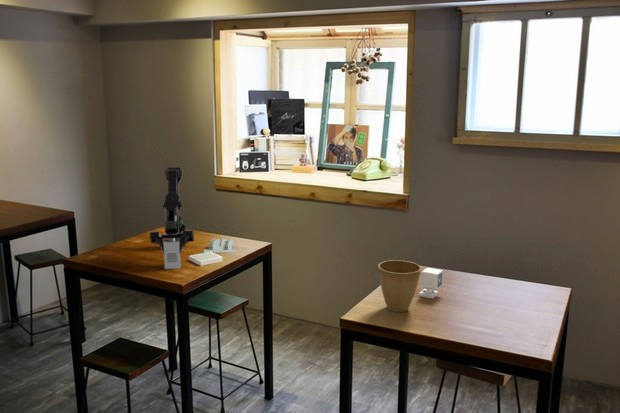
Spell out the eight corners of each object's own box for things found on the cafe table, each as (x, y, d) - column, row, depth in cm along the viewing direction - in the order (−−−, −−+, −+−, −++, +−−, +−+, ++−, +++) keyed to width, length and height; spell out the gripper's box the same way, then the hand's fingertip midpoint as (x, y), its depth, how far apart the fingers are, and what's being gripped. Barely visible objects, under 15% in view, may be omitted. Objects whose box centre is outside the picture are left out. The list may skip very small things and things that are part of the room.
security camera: (436, 299, 229) (437, 274, 227) (418, 296, 233) (419, 271, 231) (442, 294, 234) (443, 269, 232) (424, 291, 238) (425, 266, 236)
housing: (165, 265, 269) (164, 237, 267) (180, 265, 270) (179, 236, 268) (164, 269, 264) (163, 240, 262) (180, 268, 265) (178, 239, 263)
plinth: (189, 260, 278) (189, 255, 278) (210, 255, 285) (210, 251, 284) (201, 265, 270) (200, 261, 269) (222, 261, 276) (222, 256, 276)
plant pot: (370, 311, 217) (371, 268, 214) (387, 298, 230) (389, 257, 226) (409, 320, 210) (411, 275, 206) (425, 306, 222) (427, 264, 219)
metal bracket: (207, 235, 300) (237, 235, 300) (208, 245, 303) (238, 245, 303) (202, 250, 287) (234, 251, 287) (203, 261, 290) (235, 261, 290)
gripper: (148, 213, 265) (147, 245, 257) (192, 212, 268) (193, 243, 260) (151, 227, 274) (150, 257, 266) (193, 225, 277) (194, 255, 269)
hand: (172, 253), depth 265 cm, fingers closed on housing, 6 cm apart
